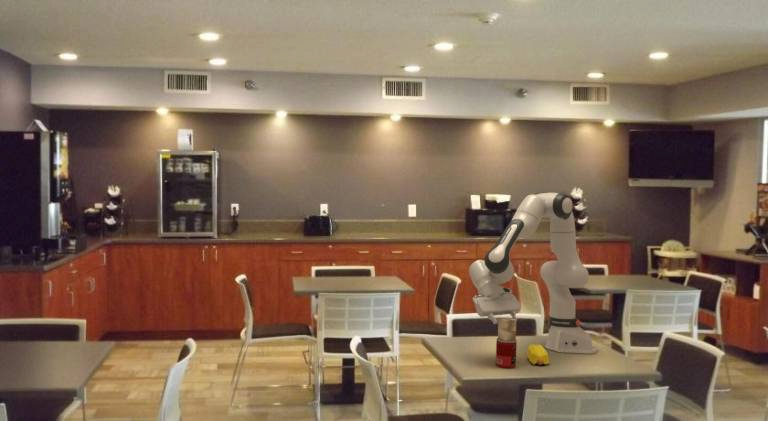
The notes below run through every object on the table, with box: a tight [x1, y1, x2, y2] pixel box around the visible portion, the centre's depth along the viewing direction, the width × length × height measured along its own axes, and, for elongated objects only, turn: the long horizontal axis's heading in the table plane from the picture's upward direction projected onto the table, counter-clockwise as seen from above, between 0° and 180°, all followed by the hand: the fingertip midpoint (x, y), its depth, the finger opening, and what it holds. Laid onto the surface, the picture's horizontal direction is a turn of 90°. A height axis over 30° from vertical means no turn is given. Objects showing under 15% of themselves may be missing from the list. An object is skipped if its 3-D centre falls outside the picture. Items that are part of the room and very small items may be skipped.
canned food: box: [495, 337, 518, 369], centre depth 302 cm, size 8×8×11 cm
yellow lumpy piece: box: [526, 343, 550, 366], centre depth 312 cm, size 18×7×8 cm
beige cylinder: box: [497, 317, 517, 341], centre depth 301 cm, size 5×5×8 cm
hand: (505, 322), depth 302 cm, fingers open, 8 cm apart
